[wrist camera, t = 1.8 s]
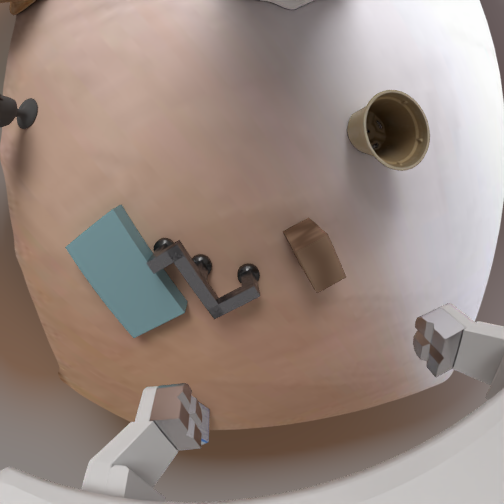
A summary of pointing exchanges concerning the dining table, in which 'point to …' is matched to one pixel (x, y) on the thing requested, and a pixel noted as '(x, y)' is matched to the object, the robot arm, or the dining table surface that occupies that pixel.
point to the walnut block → (315, 254)
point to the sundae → (17, 112)
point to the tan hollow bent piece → (18, 5)
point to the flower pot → (391, 130)
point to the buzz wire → (205, 277)
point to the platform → (126, 273)
